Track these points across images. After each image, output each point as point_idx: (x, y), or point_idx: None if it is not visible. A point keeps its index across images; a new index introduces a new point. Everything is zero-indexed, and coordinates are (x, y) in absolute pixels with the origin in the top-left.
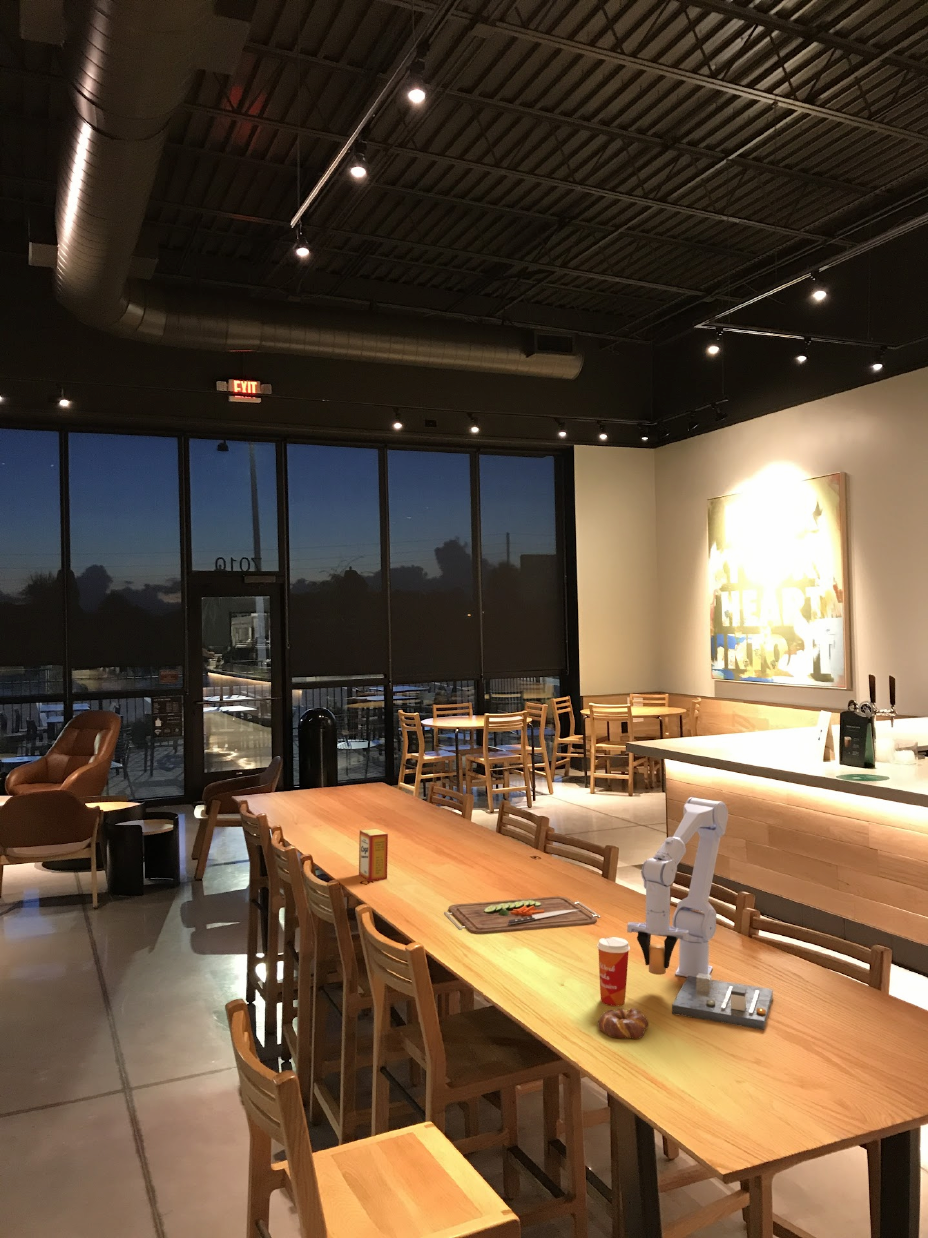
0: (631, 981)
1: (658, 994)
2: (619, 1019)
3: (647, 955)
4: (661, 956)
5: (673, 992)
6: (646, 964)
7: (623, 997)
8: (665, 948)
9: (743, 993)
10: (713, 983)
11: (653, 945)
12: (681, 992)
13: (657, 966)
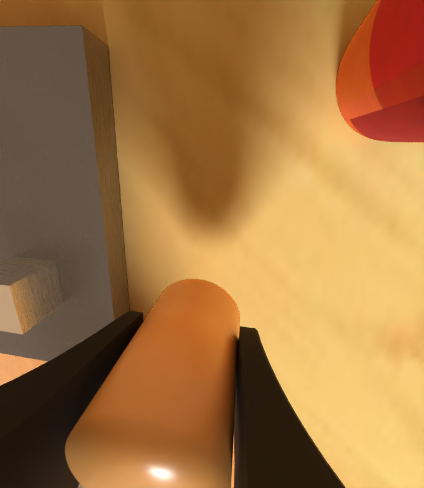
0: (313, 331)
1: (201, 244)
2: None
3: (243, 375)
4: (122, 361)
5: (156, 278)
6: (251, 330)
7: (358, 31)
8: (9, 424)
9: None
10: (30, 333)
11: None
12: (92, 214)
13: (175, 303)
